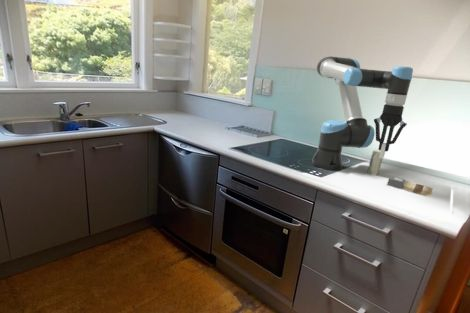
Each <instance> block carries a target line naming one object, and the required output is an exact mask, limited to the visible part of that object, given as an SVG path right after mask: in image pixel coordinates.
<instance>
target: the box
mask: <svg viewBox="0 0 470 313" xmlns="http://www.w3.org/2000/svg"><path fill="white" fill-rule="evenodd" d="M380 151H381V150H379V149H378V148H375V149H373V150H372V153H371V158H370V161H369V164H368V169H367V174H370V175H372V176H373V175H374V176H378V175H379V174H380V170H381V167H382V162H383V159H382V158H379V155H380Z"/></svg>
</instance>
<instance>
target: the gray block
mask: <svg viewBox="0 0 470 313" xmlns="http://www.w3.org/2000/svg"><path fill="white" fill-rule="evenodd" d="M405 181H407V180H406V179H405V178H400V177H398V176H397V177H396V176H393V175H390V176H389V178H388V180H387V183H388V184H387V183H386V184H387V185H389V186H388V187H391V186H393V187H392V188H394V187H396V189H398V188H400V189H399V190H402V189H403V187H404V184H405ZM387 185H386V186H387Z"/></svg>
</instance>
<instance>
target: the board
mask: <svg viewBox="0 0 470 313" xmlns="http://www.w3.org/2000/svg"><path fill="white" fill-rule="evenodd" d="M387 184H388V182H386V184H385V186H388V187H392V188H396V187H393V186H389V185H387ZM396 189H398V190H401V191H404V192H406V191H407V192H409V193H413V194H417V195H420V196H423V197H427V198H432V194H433V189H434V187H431V186H426V185H421V184H419V183H415V182H411V181H407V180H406V181H405V184H404V187H403V189H400V188H396Z"/></svg>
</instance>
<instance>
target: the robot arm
mask: <svg viewBox="0 0 470 313" xmlns="http://www.w3.org/2000/svg"><path fill="white" fill-rule="evenodd" d="M316 72H317V73H318V75H319V76H321V77H322V78H327V79H333V80H334V81H335V82H334V83H335V85H337V86H338V87H339V88H338V90H339V94H340V98H341V104H342V109H343V115H344V120H336V119H335V120H334V119H333V120H332V119H331V120H326V121H324V122H323V123H322V126H321V129H320V135H319V139H318V140H319V141H318V146H317V150H316V152H315V154H314V155H313V157H312V161H311V163H312V165H313V166H315V167H317V168H320V169H323V170H324V169H325V170H328V171H329V170H330V171H331V170H332V171H338V170H341V169H342V168H343V158H342V150H343V148H355V149H356V148H357V149H361V148H363V149H364V148H368V147H369V146H370V145H371V144H372V143H373V140H374V139H375V141H376V142H378V143H379V145H378V148H377V149H379V150H381V151H380V155H379V158H382V160H383V159H384V158H385V154H386V152H388V151H389V149H390V146H391V145H393V144H395V143H396V142H397V140H398V138H399V136H400V135H401V133H402V130H403V129H404V128H405V127H406V126H407V124H408V123H407V122H404V120H403V117H402V116H403V112H404V109H405V107H404V106H405V104H406V100H407V97H408V93H409V89H410V85H411V82H412V78H413V72H414V69H413V67H411V66H399V65H398V66H397V65H396V66H393V67H392V70H390V71H389V70H388V71H387V70H377V69H366V68H361V65H360V63H359V61H358V60H357V59H355V58H351V57H341V56H339V57H338V56H325V57H323V58H322V59H320V60H319V61H318V63H317V65H316ZM358 87H362V88H374V89H380V90H382V89H384V90H387V92H386V95H385V101H384V102H385V104H384V105H383V109H382V113H381V115H380V116H379V117H376V118H374V119H373V122H374V124H375V128H374V127H373V126H372V125H370V124H368V120H367V119H366V118H365V117H363V112H362V108H361V103H360V98H359V92H358V89H357V88H358ZM380 122H381V123H382V125H383V128H382V132H381V130H380V129H381V127H380V126H381V125H380ZM397 125H399V128H398V129H397V131H396V133H395V135H394V136H393V132H394V129H395V127H396V126H397ZM388 127H389V131H388V135H387V138H386V134H387V130H388ZM392 137H393V138H392ZM385 138H386V142H385Z"/></svg>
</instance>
